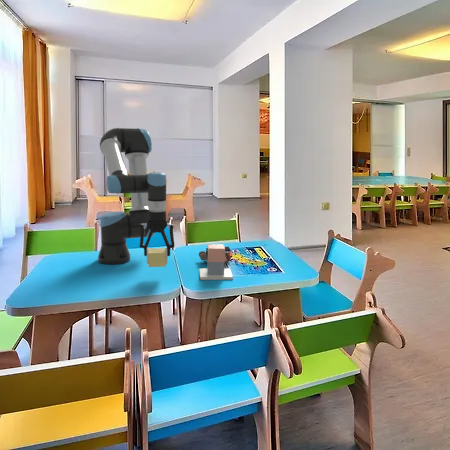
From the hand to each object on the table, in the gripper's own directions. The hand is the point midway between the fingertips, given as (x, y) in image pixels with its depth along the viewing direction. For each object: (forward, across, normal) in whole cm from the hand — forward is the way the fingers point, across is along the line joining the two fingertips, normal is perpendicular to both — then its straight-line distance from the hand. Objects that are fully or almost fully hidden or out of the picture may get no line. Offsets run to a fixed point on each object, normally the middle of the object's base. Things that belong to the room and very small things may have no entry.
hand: (157, 263), depth 172 cm
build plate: (+7, +25, +3) cm, 26 cm away
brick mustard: (0, 0, 0) cm, 0 cm away
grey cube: (+5, +25, +3) cm, 26 cm away
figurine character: (+8, +26, +22) cm, 35 cm away
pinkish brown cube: (-1, +25, +3) cm, 26 cm away
